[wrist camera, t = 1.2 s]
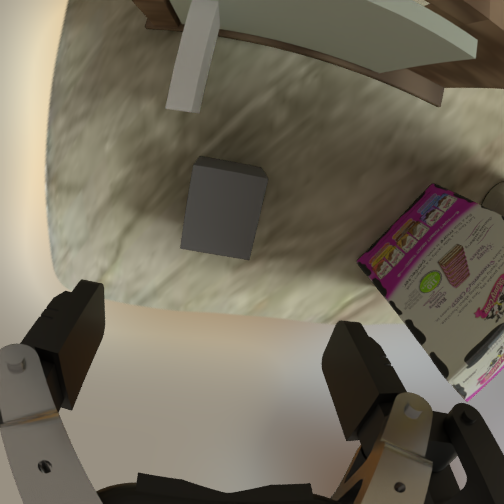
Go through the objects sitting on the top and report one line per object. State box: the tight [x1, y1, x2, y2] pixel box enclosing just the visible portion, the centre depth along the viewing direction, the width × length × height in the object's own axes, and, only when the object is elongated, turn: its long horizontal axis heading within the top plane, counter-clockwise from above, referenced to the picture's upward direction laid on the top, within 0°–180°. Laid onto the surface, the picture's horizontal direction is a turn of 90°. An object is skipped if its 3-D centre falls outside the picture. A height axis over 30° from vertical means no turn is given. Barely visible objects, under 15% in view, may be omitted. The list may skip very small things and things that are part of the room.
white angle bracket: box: [165, 0, 478, 113], centre depth 16 cm, size 16×8×12 cm, turn 78°
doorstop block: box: [180, 156, 268, 260], centre depth 24 cm, size 5×6×5 cm
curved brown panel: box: [132, 0, 504, 107], centre depth 14 cm, size 26×4×15 cm, turn 78°
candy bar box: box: [356, 183, 504, 402], centre depth 22 cm, size 11×5×16 cm, turn 137°
